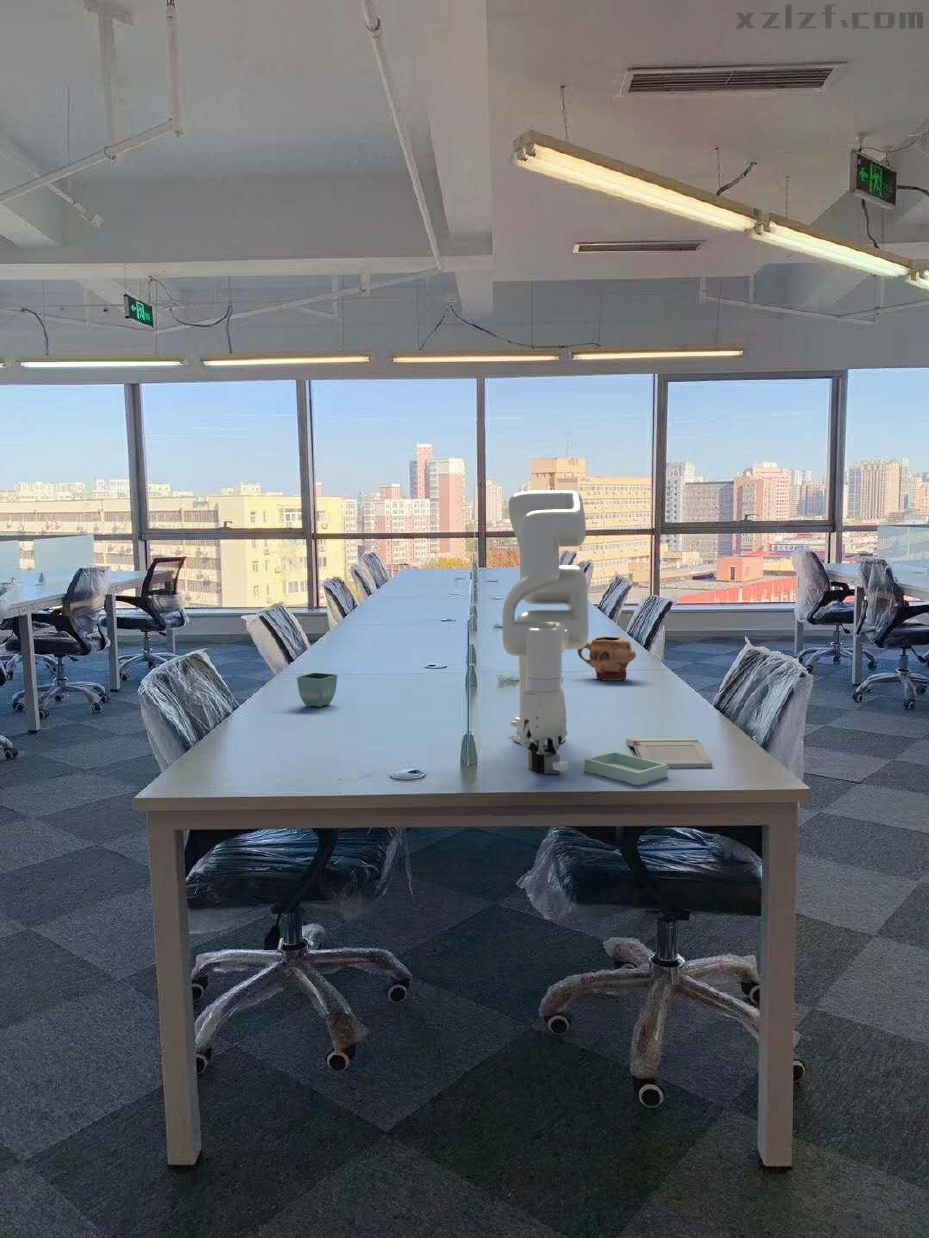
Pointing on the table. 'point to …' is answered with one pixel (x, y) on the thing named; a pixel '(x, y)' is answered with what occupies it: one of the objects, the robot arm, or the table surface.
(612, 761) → the tray
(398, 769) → the table surface
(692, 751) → the gadget
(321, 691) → the flower pot
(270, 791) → the table surface
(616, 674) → the sculpted clay mug
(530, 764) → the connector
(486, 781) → the table surface
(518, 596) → the robot arm
